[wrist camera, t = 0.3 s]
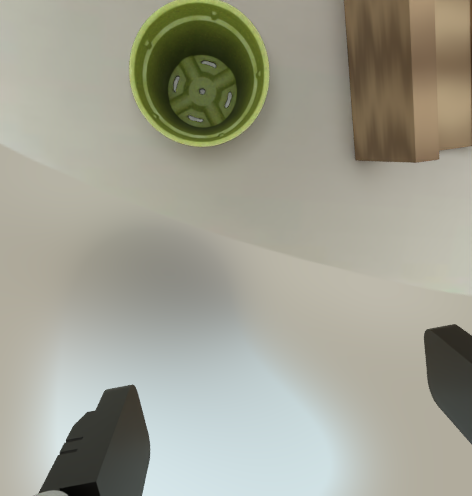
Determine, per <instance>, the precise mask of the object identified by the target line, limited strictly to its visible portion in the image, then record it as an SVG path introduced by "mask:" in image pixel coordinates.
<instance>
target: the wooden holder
mask: <svg viewBox="0 0 472 496" xmlns="http://www.w3.org/2000/svg"><path fill="white" fill-rule="evenodd" d="M344 6H345V20H346V34H347V48H348V62H349V76H350V90H351V104H352V118H353V132H354V146H355V160H359V161H387V162H414V163H416V162H424V161H431V160H438V159H439V150H446V149H453V148H461V147H468V146H472V0H344Z"/></svg>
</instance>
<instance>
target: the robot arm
mask: <svg viewBox="0 0 472 496" xmlns="http://www.w3.org/2000/svg"><path fill="white" fill-rule="evenodd" d="M424 344H425V354H426V366H427V378H428V385H429V389H430V392H431V394H432V397H433V399H434V401H435V402H436V404H437V405H438V406H439V408H440V409H441V410H442V411H443V412H444V413H445V414H446V415H447V417H448V418H449V419H450V420H451V421H452V422H453V424H454V425H455V426H456V427H457V428H458V429H459V430H460V432H461V433H462V434H463V435H464V436H465V437H466V438H467V440H468V441H469V442H470V443H471V444H472V336H471V335H470V334H468V333H467V332H466V331H464V330H463V329H462V328H460V327H459V326H457V325H455V324H453V325H448V326H442V327H437V328H432V329H427V330H426V331H425V334H424ZM149 460H150V441H149V435H148V431H147V427H146V423H145V419H144V415H143V411H142V408H141V404H140V400H139V396H138V393H137V390H136V387H135V386H134V385H128V386H123V387H118V388H112V389H107V390H105V391H104V393H103V395H102V397H101V400H100V402H99V404H98V407H97V408H96V410H95V411H91V412H87V413H86V414H85V415H84V416H83V417H82V418H81V419H80V420H79V421H78V422H77V423H76V424H75V425H74V426H73V427H72V430H71V431H70V433H69V435H68V437H67V439H66V443H64V445H63V447H62V449H61V451H60V455H58V456H57V458H56V460H55V462H54V464H53V466H52V468H51V470H50V472H49V474H48V476H47V478H46V480H45V482H44V484H43V486H42V488H41V489H40V491H39V493H38V494H36V495H34V496H142V493H143V488H144V483H145V478H146V474H147V469H148V464H149Z"/></svg>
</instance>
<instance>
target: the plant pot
mask: <svg viewBox="0 0 472 496" xmlns="http://www.w3.org/2000/svg"><path fill="white" fill-rule="evenodd" d="M203 60H206V61H210V62H213V63H215V64H216V66H217V67H216V68H214V67H212V66H210V65H206V64H202V63H201V62H202V61H203ZM177 76H180V79H179V81H178V84H177V89H176V92H174V90H173V83H174V80H175V78H176V77H177ZM129 77H130V84H131V89H132V93H133V96H134V98H135V101H136V103H137V105H138V107H139V109H140V111H141V112H142V114H143V115H144V117H145V118H146V120H147V121H148V122H149V123H150V124H151V125H152V126H153V127H154V128H155V129H156V130H157V131H158V132H160V133H161V134H163V135H164V136H166V137H167V138H169V139H171V140H173V141H176V142H178V143H181V144H184V145H189V146H196V147H208V146H215V145H219V144H222V143H225V142H227V141H230V140H232V139H234V138H235V137H237V136H239V135H240V134H242V133H243V132H244V131H245V130H246V129H247V128H248V127H249V126H250V125H251V124H252V123H253V122H254V120H255V119H256V118H257V116H258V115H259V113H260V111H261V109H262V107H263V105H264V102H265V99H266V96H267V92H268V86H269V61H268V56H267V52H266V49H265V46H264V43H263V41H262V39H261V36H260V34H259V33H258V31H257V29H256V28H255V26H254V25H253V24H252V22H251V21H250V20H249V19H248V18H247V17H246V16H245V15H244V14H243V13H242V12H240V11H239V10H238V9H236V8H235V7H233V6H231V5H230V4H228V3H225V2H223V1H220V0H175V1H173V2H171V3H168V4H166V5H165V6H163V7H161V8H160V9H158V10H157V11H156V12H154V13H153V14H152V15H151V16H150V17H149V18H148V19H147V20H146V21H145V23H144V24H143V26H142V27H141V29H140V30H139V32H138V34H137V36H136V38H135V41H134V43H133V46H132V49H131V54H130V61H129ZM201 88H203V89H204V90H205V93H204V94H200V92H199V90H200V89H201ZM228 92H231V93H232V99H231V101H230V104H229V106H228V107H227V108H225V103H226V101H227V97H228ZM188 115H191V116H193V117H196V118H199V119H203V121H202V122H197V121H192V120H190V119H189V118H188Z"/></svg>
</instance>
